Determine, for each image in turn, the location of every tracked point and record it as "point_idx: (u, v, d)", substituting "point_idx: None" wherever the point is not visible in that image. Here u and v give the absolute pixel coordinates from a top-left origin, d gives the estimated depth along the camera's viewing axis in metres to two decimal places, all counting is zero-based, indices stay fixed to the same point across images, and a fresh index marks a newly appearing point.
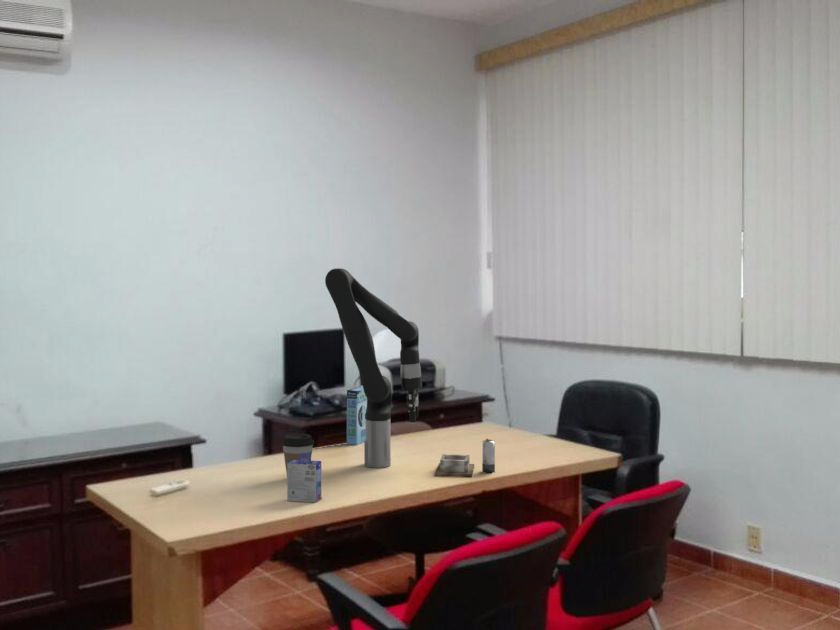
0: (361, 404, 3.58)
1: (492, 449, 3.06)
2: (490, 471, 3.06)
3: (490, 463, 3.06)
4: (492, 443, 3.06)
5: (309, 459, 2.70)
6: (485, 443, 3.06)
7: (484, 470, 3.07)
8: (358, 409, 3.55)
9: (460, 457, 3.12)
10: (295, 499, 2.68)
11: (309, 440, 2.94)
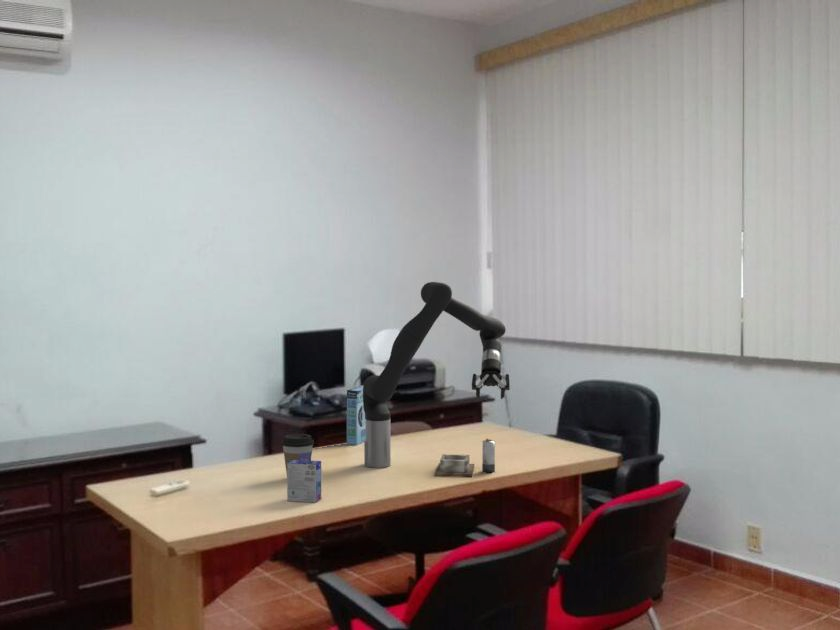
0: (361, 404, 3.58)
1: (492, 449, 3.06)
2: (490, 471, 3.06)
3: (490, 463, 3.06)
4: (492, 443, 3.06)
5: (309, 459, 2.70)
6: (485, 443, 3.06)
7: (484, 470, 3.07)
8: (358, 409, 3.55)
9: (460, 457, 3.12)
10: (295, 499, 2.68)
11: (309, 440, 2.94)
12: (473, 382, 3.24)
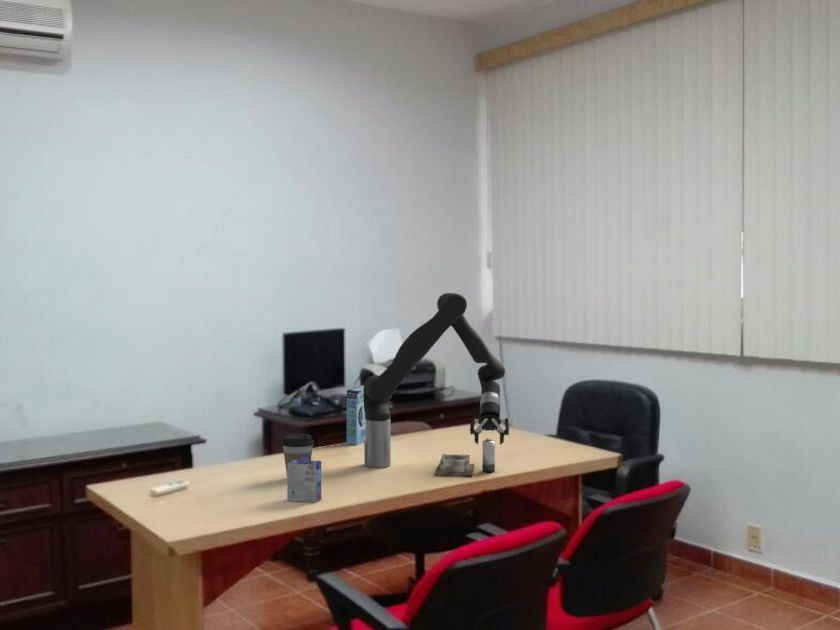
0: (361, 404, 3.58)
1: (492, 449, 3.06)
2: (490, 471, 3.06)
3: (490, 463, 3.06)
4: (492, 443, 3.06)
5: (309, 459, 2.70)
6: (485, 443, 3.06)
7: (484, 470, 3.07)
8: (358, 409, 3.55)
9: (460, 457, 3.12)
10: (295, 499, 2.68)
11: (309, 440, 2.94)
12: (471, 426, 3.15)
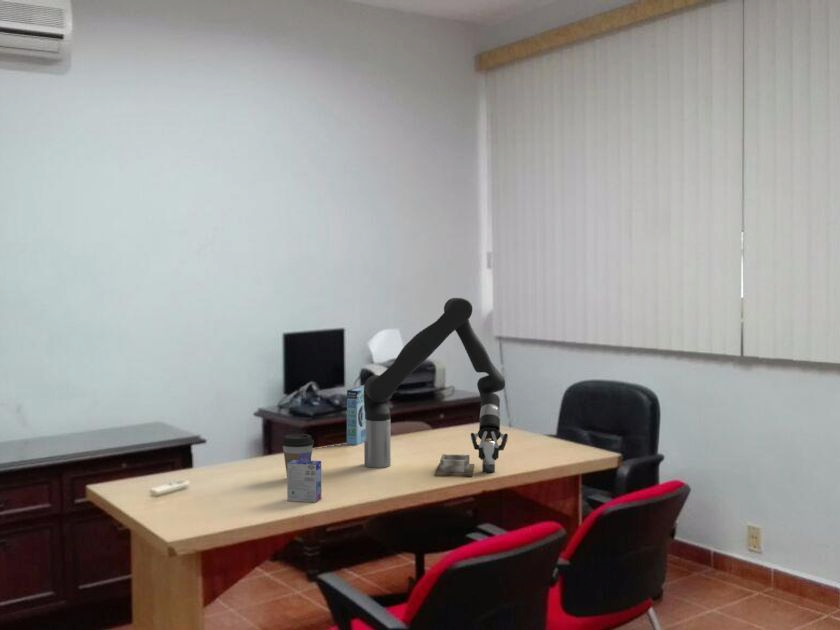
0: (361, 404, 3.58)
1: (492, 449, 3.06)
2: (490, 471, 3.06)
3: (490, 463, 3.06)
4: (492, 443, 3.06)
5: (309, 459, 2.70)
6: (485, 443, 3.06)
7: (484, 470, 3.07)
8: (358, 409, 3.55)
9: (460, 457, 3.12)
10: (295, 499, 2.68)
11: (309, 440, 2.94)
12: (474, 442, 3.10)
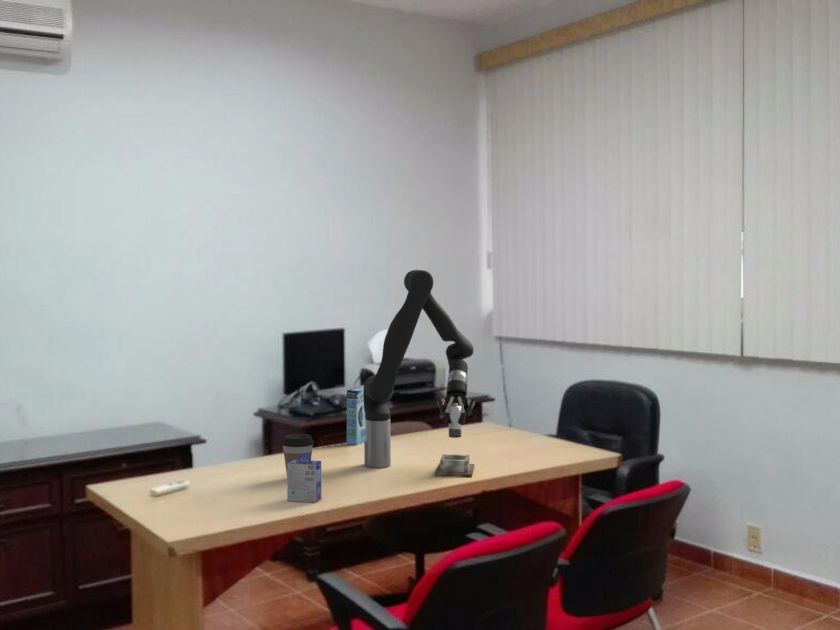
0: (361, 404, 3.58)
1: (458, 414, 3.06)
2: (456, 436, 3.06)
3: (456, 428, 3.06)
4: (458, 408, 3.06)
5: (309, 459, 2.70)
6: (451, 407, 3.06)
7: (450, 435, 3.06)
8: (358, 409, 3.55)
9: (460, 457, 3.12)
10: (295, 499, 2.68)
11: (309, 440, 2.94)
12: (441, 407, 3.10)
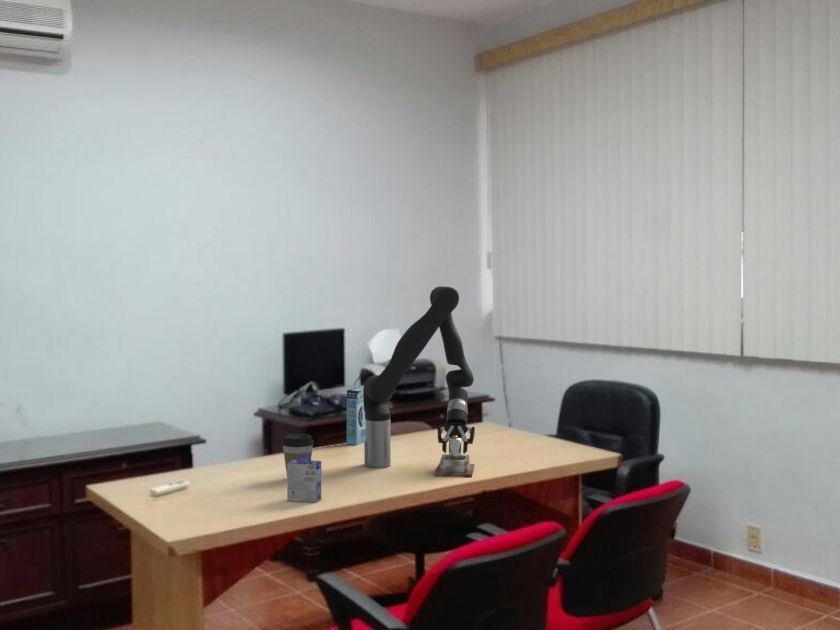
0: (361, 404, 3.58)
1: (458, 446, 3.06)
2: None
3: None
4: (458, 440, 3.06)
5: (309, 459, 2.70)
6: (451, 440, 3.06)
7: None
8: (358, 409, 3.55)
9: None
10: (295, 499, 2.68)
11: (309, 440, 2.94)
12: (439, 435, 3.10)
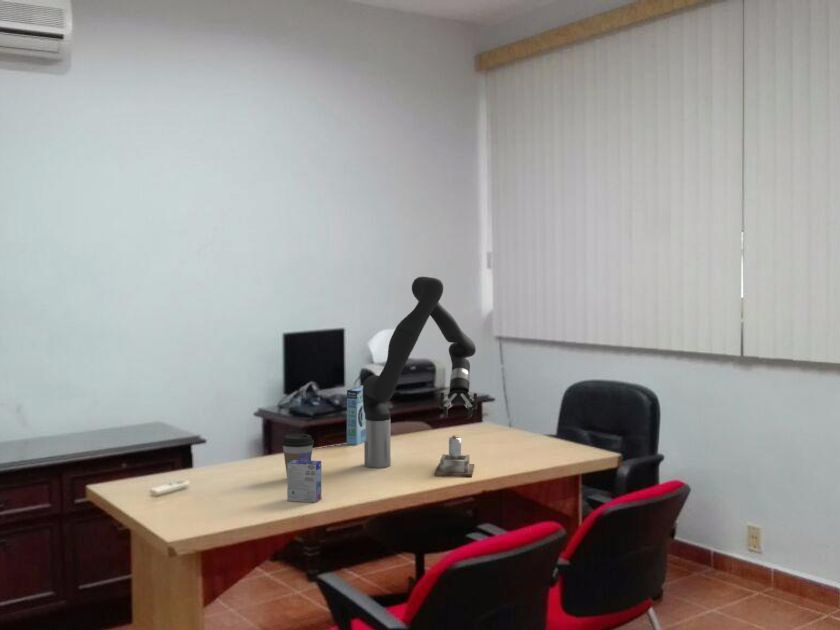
0: (361, 404, 3.58)
1: (458, 446, 3.06)
2: None
3: None
4: (458, 440, 3.06)
5: (309, 459, 2.70)
6: (451, 440, 3.06)
7: None
8: (358, 409, 3.55)
9: None
10: (295, 499, 2.68)
11: (309, 440, 2.94)
12: (441, 401, 3.23)
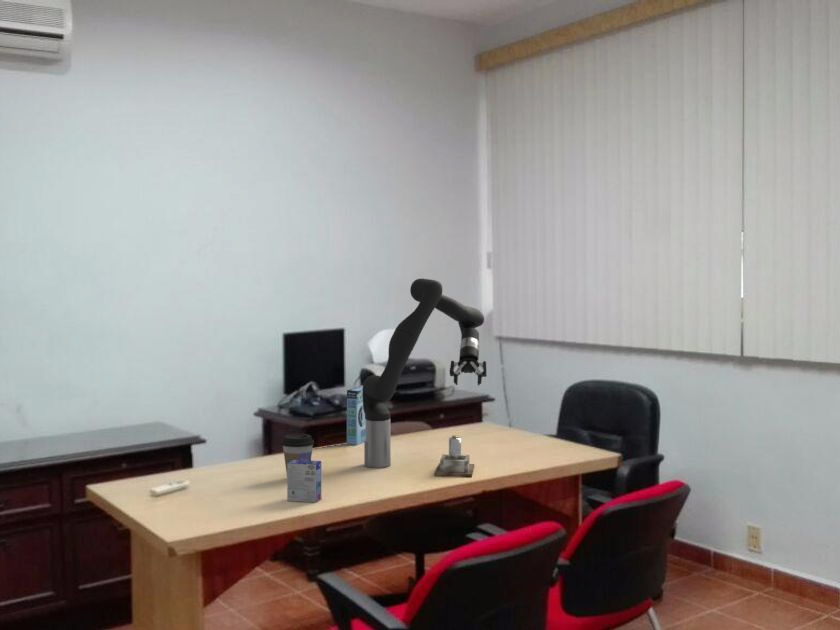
0: (361, 404, 3.58)
1: (458, 446, 3.06)
2: None
3: None
4: (458, 440, 3.06)
5: (309, 459, 2.70)
6: (451, 440, 3.06)
7: None
8: (358, 409, 3.55)
9: None
10: (295, 499, 2.68)
11: (309, 440, 2.94)
12: (451, 369, 3.33)
